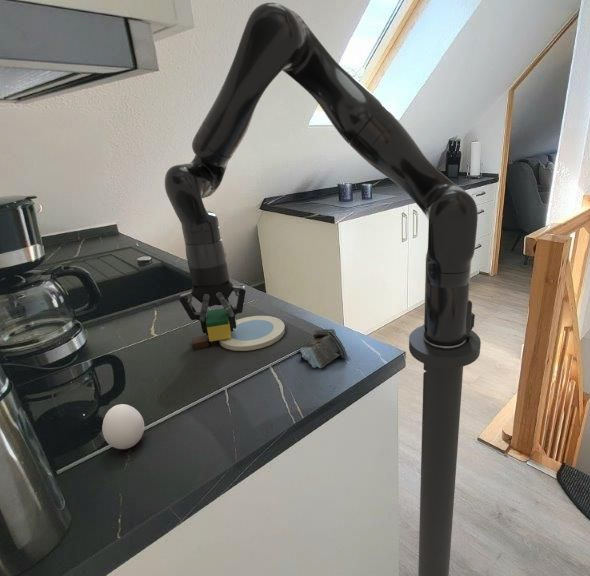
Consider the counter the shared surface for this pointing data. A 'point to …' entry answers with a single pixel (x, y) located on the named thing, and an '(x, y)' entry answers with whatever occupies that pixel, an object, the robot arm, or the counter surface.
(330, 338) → the grey jagged block
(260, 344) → the plate
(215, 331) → the sponge
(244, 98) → the robot arm
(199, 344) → the crumb
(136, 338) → the counter surface
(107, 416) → the egg
